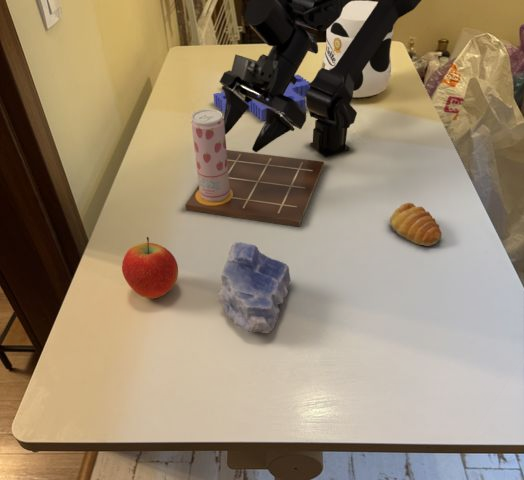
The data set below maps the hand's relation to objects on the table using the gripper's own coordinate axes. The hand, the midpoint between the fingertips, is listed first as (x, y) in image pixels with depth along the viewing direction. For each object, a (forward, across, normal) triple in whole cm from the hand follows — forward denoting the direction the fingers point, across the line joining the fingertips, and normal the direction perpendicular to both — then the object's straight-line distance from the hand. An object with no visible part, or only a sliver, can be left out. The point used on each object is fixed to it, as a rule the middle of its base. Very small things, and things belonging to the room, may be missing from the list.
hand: (238, 142), depth 95 cm
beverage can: (+10, 0, +2) cm, 11 cm away
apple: (+28, +15, -14) cm, 34 cm away
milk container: (-28, -17, +43) cm, 54 cm away
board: (+5, +2, +9) cm, 10 cm away
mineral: (+21, +28, -7) cm, 36 cm away
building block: (-14, -30, +29) cm, 44 cm away
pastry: (-3, +32, +17) cm, 36 cm away
